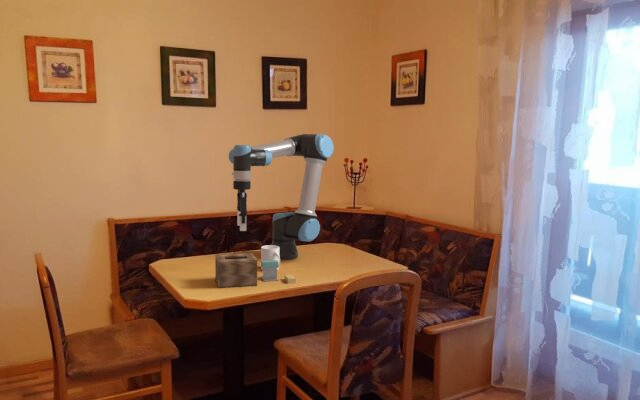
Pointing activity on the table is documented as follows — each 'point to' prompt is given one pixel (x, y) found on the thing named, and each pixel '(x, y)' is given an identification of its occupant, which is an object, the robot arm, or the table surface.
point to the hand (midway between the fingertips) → (241, 228)
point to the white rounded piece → (270, 253)
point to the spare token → (290, 278)
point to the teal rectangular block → (269, 263)
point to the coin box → (236, 270)
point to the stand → (269, 274)
